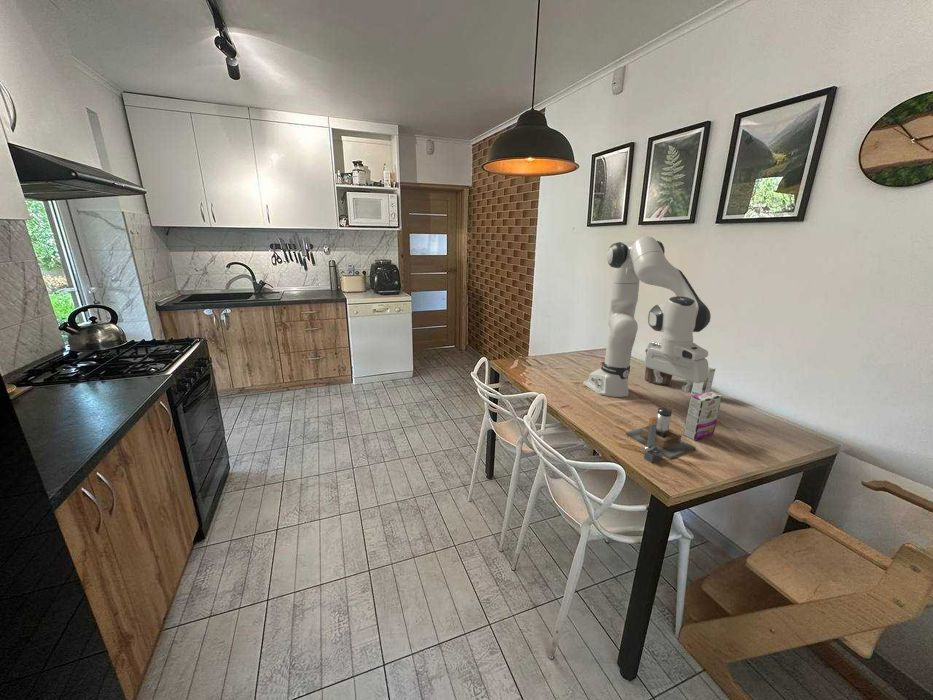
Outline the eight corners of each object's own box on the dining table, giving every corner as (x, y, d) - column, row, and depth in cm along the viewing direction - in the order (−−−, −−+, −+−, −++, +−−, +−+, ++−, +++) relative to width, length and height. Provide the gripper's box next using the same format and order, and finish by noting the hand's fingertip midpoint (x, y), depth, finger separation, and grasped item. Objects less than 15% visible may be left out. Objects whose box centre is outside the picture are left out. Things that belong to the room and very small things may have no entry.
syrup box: (690, 394, 176) (696, 366, 172) (697, 392, 179) (703, 364, 174) (702, 398, 171) (708, 369, 167) (709, 396, 174) (716, 367, 170)
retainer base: (641, 457, 124) (643, 447, 123) (651, 453, 126) (653, 443, 125) (651, 463, 121) (653, 453, 120) (661, 459, 123) (663, 449, 122)
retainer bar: (646, 445, 123) (649, 418, 121) (651, 443, 124) (654, 416, 122) (649, 447, 122) (652, 419, 120) (654, 445, 123) (657, 418, 121)
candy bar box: (701, 429, 143) (710, 390, 139) (713, 435, 139) (723, 395, 134) (681, 434, 139) (690, 395, 134) (694, 441, 135) (703, 400, 130)
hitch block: (625, 434, 139) (627, 424, 137) (650, 426, 145) (652, 417, 143) (669, 459, 123) (671, 448, 122) (695, 449, 129) (697, 439, 128)
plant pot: (674, 389, 181) (680, 358, 177) (639, 383, 189) (644, 353, 184) (675, 379, 195) (680, 350, 190) (642, 373, 203) (646, 345, 198)
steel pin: (650, 438, 135) (655, 408, 131) (658, 435, 136) (663, 406, 133) (660, 443, 131) (666, 413, 127) (668, 441, 133) (674, 411, 129)
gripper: (642, 342, 126) (638, 379, 130) (701, 356, 109) (695, 399, 112) (654, 339, 129) (651, 375, 133) (714, 353, 111) (707, 394, 115)
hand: (671, 386), depth 122 cm, fingers open, 8 cm apart
